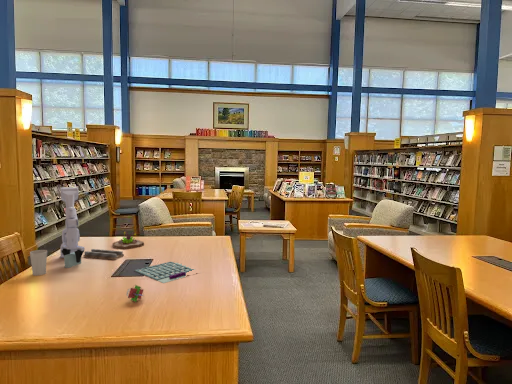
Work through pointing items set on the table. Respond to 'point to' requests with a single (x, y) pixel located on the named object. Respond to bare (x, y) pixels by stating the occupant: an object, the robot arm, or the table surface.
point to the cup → (38, 262)
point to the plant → (127, 242)
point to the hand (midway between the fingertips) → (73, 261)
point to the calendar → (165, 271)
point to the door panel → (70, 260)
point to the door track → (103, 254)
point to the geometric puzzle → (135, 293)
